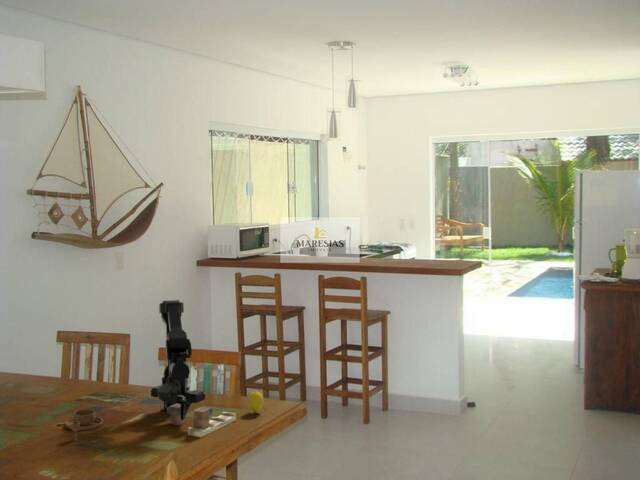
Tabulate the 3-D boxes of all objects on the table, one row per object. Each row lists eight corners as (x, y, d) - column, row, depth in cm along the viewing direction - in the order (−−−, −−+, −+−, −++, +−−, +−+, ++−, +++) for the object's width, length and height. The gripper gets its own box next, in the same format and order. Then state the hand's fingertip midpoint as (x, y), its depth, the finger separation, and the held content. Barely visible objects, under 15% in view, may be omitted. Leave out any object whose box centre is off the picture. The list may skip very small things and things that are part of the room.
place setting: (118, 425, 255) (117, 407, 255) (77, 443, 237) (77, 424, 237) (75, 418, 262) (75, 401, 262) (33, 435, 244) (33, 417, 243)
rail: (188, 434, 244) (187, 411, 243) (223, 418, 262) (223, 396, 262) (200, 437, 242) (200, 413, 241) (236, 420, 260) (236, 398, 259)
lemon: (261, 415, 265) (261, 393, 265) (245, 414, 266) (245, 392, 266) (265, 411, 270) (265, 389, 270) (250, 410, 272) (250, 388, 271)
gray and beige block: (166, 425, 254) (166, 407, 253) (176, 420, 259) (176, 403, 258) (175, 426, 252) (175, 408, 252) (185, 422, 257) (185, 404, 257)
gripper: (139, 375, 252) (140, 421, 253) (186, 381, 244) (186, 429, 245) (161, 368, 262) (161, 413, 263) (206, 374, 254) (206, 420, 255)
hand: (177, 419), depth 256 cm, fingers closed on gray and beige block, 4 cm apart
